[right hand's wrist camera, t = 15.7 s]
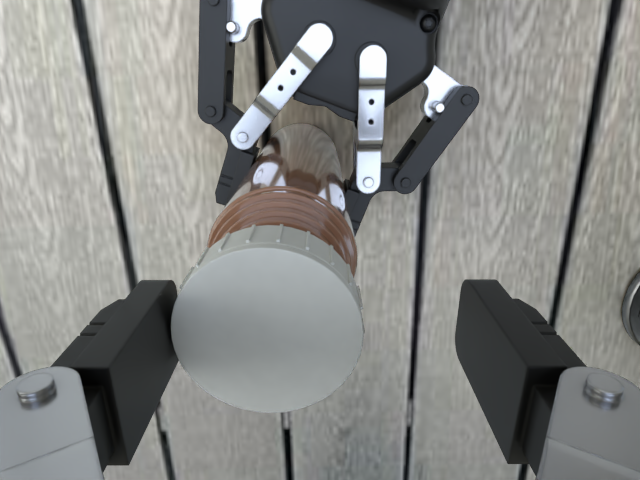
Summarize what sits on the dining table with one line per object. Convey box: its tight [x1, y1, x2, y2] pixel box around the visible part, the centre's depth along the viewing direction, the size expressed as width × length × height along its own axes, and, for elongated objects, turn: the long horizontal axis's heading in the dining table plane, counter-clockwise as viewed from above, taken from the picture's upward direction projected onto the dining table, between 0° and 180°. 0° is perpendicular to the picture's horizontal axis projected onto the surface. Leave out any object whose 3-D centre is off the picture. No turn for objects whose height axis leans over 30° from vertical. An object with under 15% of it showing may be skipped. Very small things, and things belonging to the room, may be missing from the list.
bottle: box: [207, 123, 357, 278], centre depth 21 cm, size 5×5×20 cm
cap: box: [171, 224, 364, 413], centre depth 11 cm, size 5×5×2 cm
